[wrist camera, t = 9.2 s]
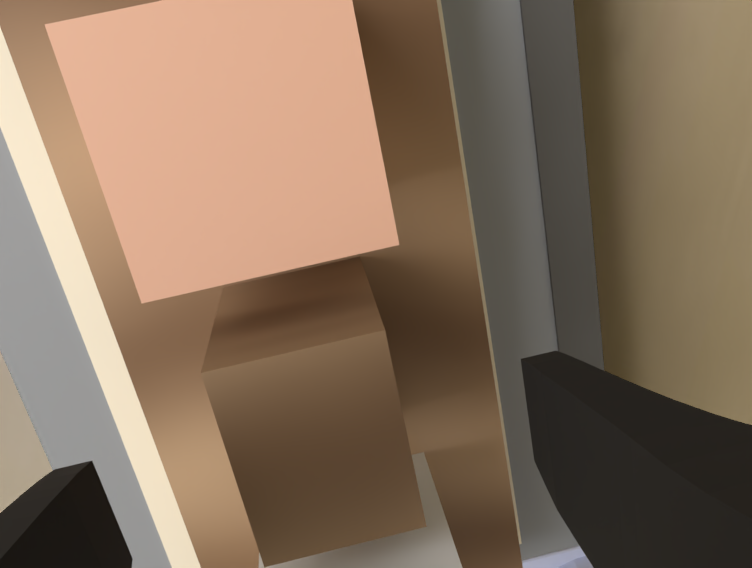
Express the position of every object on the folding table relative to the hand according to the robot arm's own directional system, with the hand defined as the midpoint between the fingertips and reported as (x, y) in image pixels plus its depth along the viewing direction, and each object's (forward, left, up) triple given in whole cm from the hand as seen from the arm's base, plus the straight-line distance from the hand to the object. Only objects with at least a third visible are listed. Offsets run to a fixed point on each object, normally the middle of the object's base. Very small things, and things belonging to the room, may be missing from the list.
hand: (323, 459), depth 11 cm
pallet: (0, 0, -6) cm, 6 cm away
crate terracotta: (+5, 0, -4) cm, 7 cm away
